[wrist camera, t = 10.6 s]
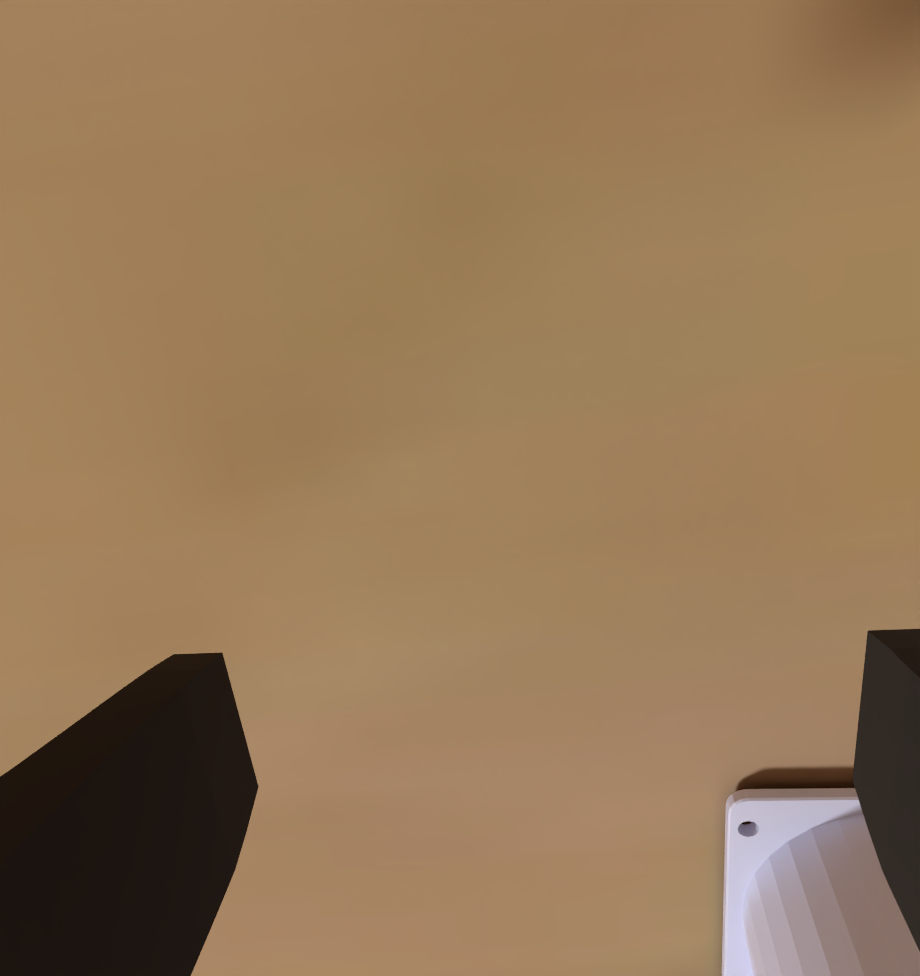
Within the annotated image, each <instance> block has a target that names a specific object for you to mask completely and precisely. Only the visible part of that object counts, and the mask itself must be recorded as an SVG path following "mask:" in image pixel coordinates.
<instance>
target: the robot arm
mask: <svg viewBox="0 0 920 976" xmlns="http://www.w3.org/2000/svg"><path fill="white" fill-rule="evenodd" d="M852 780H853V784H854V787H855V788H809V789H744V790H738V791H736V792H734V793H732V794H731V795H730V796H729V798H728V799H727V802H726V822H725V863H724V904H723V944H722V976H920V629H902V630H873V631H868V634H867V644H866V654H865V663H864V673H863V683H862V692H861V702H860V712H859V721H858V731H857V741H856V750H855V760H854V770H853V779H852ZM257 790H258V784H257V780H256V776H255V773H254V769H253V765H252V761H251V758H250V754H249V750H248V747H247V743H246V739H245V735H244V732H243V728H242V724H241V721H240V717H239V713H238V710H237V706H236V702H235V698H234V695H233V691H232V687H231V684H230V680H229V676H228V672H227V669H226V665H225V661H224V658H223V654H222V653H200V654H174V655H172V656H170V657H169V658H167V659H165V660H164V661H162V662H161V663H159V664H157V665H156V666H154V667H153V668H151V669H150V670H148V671H147V672H145V673H144V674H142V675H141V676H140V677H138V678H137V679H135V680H134V681H132V682H131V683H130V684H128V685H127V686H125V687H124V688H123V689H121V690H120V691H118V692H117V693H116V694H114V695H113V696H112V697H110V698H109V699H107V700H106V701H105V702H103V703H102V704H101V705H99V706H98V707H96V708H95V709H94V710H92V711H91V712H90V713H88V714H87V715H86V716H84V717H83V718H81V719H80V720H79V721H77V722H76V723H75V724H73V725H72V726H70V727H69V728H68V729H66V730H65V731H63V732H62V733H61V734H59V735H58V736H57V737H55V738H54V739H52V740H51V741H50V742H48V743H47V744H46V745H44V746H43V747H41V748H40V749H39V750H37V751H36V752H35V753H33V754H32V755H30V756H29V757H28V758H26V759H25V760H24V761H22V762H21V763H19V764H18V765H17V766H15V767H14V768H12V769H11V770H10V771H8V772H7V773H5V774H4V775H2V776H1V777H0V976H191V973H192V971H193V969H194V966H195V964H196V962H197V959H198V957H199V955H200V952H201V950H202V948H203V945H204V943H205V941H206V938H207V936H208V934H209V931H210V929H211V926H212V924H213V922H214V919H215V917H216V914H217V912H218V910H219V907H220V905H221V903H222V900H223V898H224V895H225V893H226V891H227V888H228V886H229V883H230V881H231V878H232V876H233V873H234V871H235V868H236V865H237V861H238V858H239V855H240V851H241V848H242V845H243V841H244V838H245V835H246V831H247V827H248V824H249V820H250V816H251V812H252V809H253V805H254V801H255V797H256V794H257ZM747 821H750V822H752V823H751V824H747V825H743V824H741V823H743V822H747Z"/></svg>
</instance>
